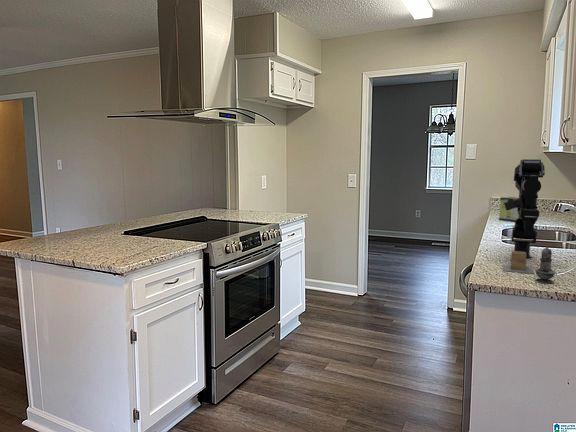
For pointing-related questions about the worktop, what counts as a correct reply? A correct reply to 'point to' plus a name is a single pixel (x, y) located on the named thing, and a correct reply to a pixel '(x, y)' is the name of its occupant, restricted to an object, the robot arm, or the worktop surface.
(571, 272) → the worktop surface
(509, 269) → the slate coaster
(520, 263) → the walnut block
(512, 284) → the worktop surface
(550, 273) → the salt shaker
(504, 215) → the protein box
